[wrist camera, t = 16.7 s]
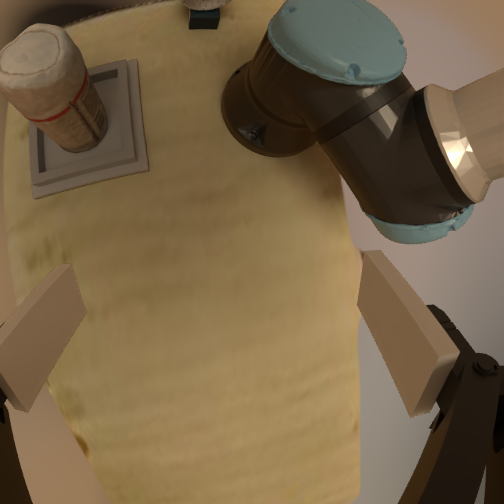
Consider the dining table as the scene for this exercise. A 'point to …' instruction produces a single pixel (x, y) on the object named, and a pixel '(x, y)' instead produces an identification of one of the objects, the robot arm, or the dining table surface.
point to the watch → (204, 13)
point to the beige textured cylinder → (53, 87)
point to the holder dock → (110, 147)
